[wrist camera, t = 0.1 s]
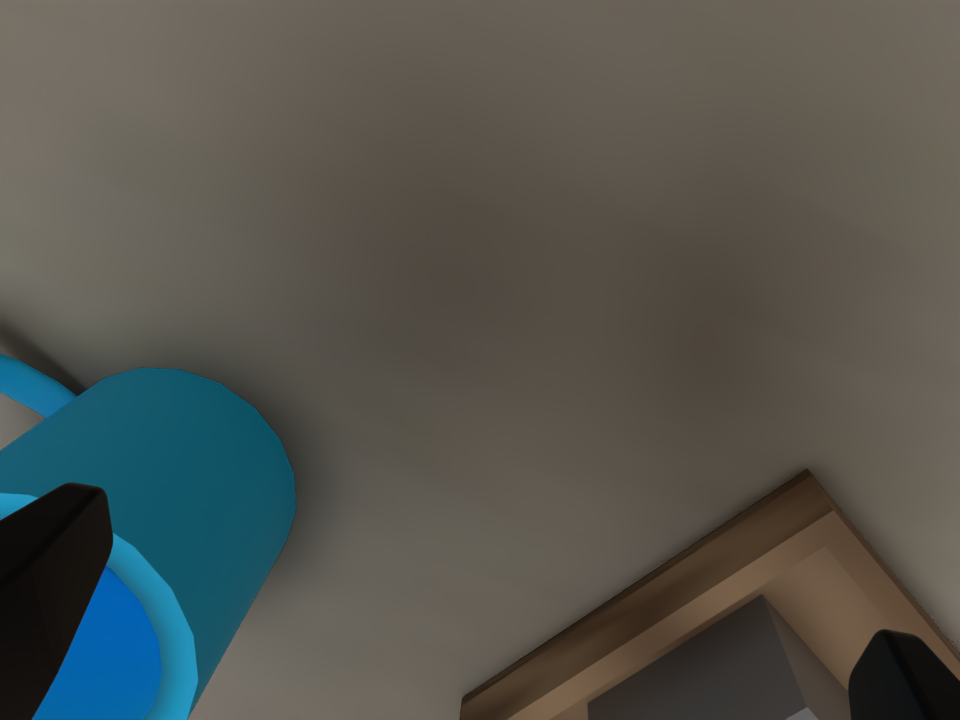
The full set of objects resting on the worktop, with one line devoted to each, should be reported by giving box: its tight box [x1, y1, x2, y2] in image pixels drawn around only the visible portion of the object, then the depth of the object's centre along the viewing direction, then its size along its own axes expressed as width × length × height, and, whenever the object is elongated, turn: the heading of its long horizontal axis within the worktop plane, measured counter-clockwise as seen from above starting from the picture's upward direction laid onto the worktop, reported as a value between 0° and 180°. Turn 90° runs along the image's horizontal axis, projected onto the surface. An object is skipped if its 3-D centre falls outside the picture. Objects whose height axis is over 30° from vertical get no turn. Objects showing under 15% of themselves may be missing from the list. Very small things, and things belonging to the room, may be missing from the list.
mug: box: [0, 353, 296, 720], centre depth 23 cm, size 12×8×8 cm
